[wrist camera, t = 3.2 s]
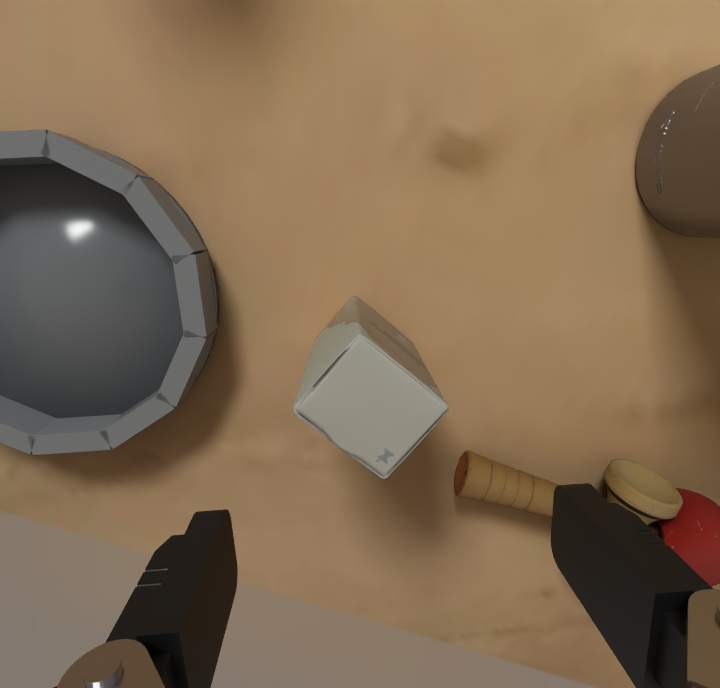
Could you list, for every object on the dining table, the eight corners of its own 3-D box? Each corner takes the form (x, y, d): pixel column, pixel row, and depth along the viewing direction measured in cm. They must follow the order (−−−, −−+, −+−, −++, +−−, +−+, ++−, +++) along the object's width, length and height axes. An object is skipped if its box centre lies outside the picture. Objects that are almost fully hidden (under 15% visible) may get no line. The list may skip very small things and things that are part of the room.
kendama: (436, 510, 34) (678, 582, 34) (448, 551, 28) (746, 641, 28) (466, 408, 34) (712, 480, 33) (486, 428, 28) (789, 516, 27)
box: (415, 344, 30) (458, 413, 19) (370, 394, 30) (388, 487, 20) (351, 290, 29) (359, 331, 18) (306, 343, 29) (288, 412, 19)
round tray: (197, 132, 26) (178, 120, 23) (234, 421, 30) (223, 443, 27) (-123, 148, 26) (-187, 138, 22) (-38, 439, 30) (-82, 464, 27)
